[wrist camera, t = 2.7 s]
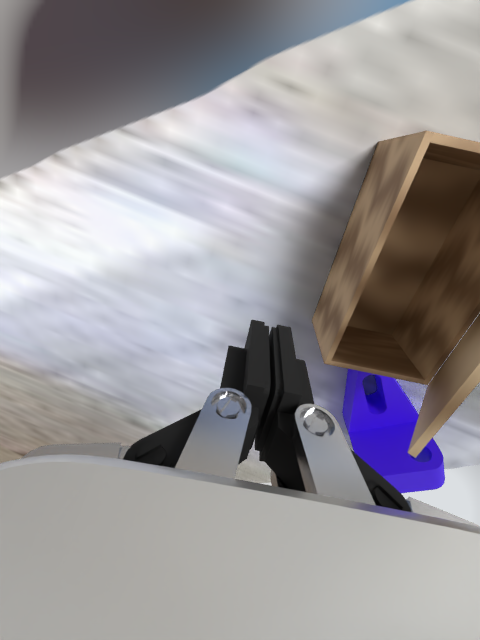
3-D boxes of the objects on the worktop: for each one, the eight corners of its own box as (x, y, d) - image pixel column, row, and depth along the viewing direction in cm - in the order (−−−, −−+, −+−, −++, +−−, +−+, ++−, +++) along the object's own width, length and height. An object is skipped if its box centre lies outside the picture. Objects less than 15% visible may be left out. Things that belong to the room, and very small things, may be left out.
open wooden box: (378, 141, 28) (426, 130, 20) (489, 166, 29) (585, 165, 20) (311, 320, 39) (324, 363, 31) (392, 337, 40) (427, 384, 31)
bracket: (411, 417, 47) (451, 487, 37) (347, 429, 50) (367, 496, 40) (399, 334, 39) (445, 392, 29) (324, 353, 42) (342, 412, 32)
